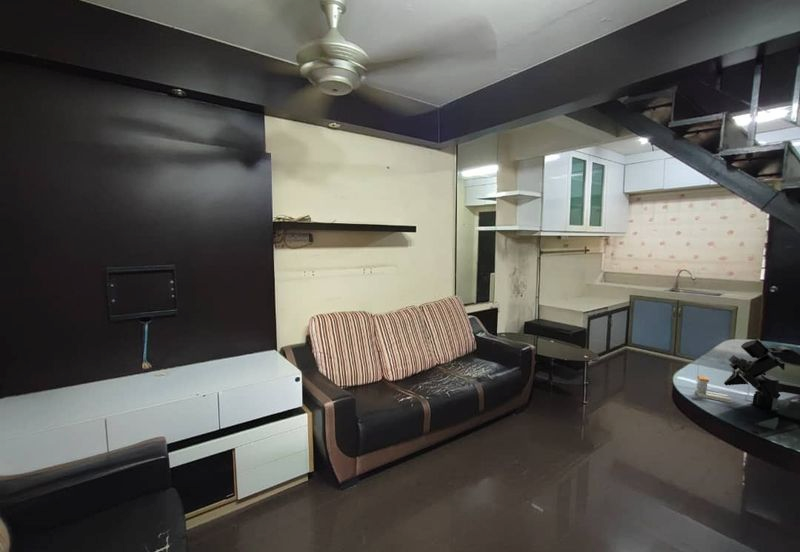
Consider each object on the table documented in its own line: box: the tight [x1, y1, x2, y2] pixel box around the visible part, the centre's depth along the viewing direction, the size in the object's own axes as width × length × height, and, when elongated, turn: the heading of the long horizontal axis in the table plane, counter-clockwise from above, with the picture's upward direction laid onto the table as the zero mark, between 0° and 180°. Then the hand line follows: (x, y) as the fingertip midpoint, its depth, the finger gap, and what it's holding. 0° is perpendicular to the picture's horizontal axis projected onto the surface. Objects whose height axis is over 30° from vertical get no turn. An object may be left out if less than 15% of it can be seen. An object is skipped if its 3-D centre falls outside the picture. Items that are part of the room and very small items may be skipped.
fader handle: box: [696, 374, 710, 393], centre depth 165 cm, size 3×5×7 cm, turn 151°
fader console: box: [695, 388, 733, 403], centre depth 163 cm, size 12×6×2 cm, turn 61°
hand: (724, 384), depth 161 cm, fingers closed
